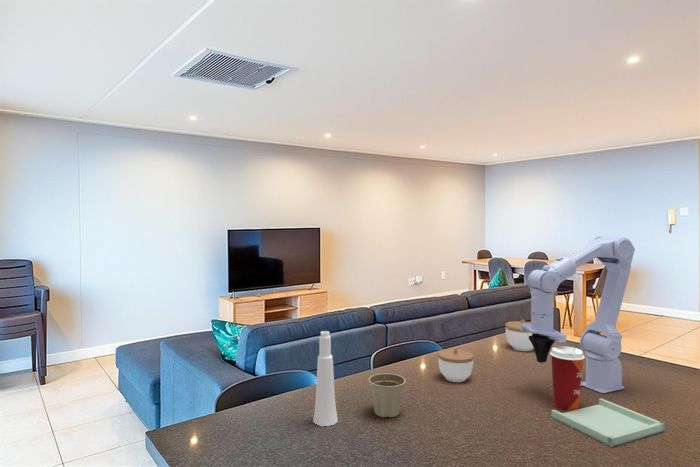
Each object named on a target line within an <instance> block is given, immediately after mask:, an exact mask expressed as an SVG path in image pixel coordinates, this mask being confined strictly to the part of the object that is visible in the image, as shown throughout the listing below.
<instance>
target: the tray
mask: <svg viewBox="0 0 700 467" xmlns="http://www.w3.org/2000/svg"><path fill="white" fill-rule="evenodd" d="M551 418H552V419H554V420H555V421H558V422H560V423H561V424H563V425H565V426H567V427H570V428H572V429H574V430H576V431H578V432H580V433H582V434H584V435H586V436H589V437H590V438H592V439H594V440H596V441H598V442H600V443H602V444H604V445H606V446H609V447H610V448H614V447H617V446H621V445H623V444H624V445H625V444H627V443H630V442H634V441H637V440H640V439H644V438H646V437H650V436H653V435H656V434H660V433H663V432H665V428H666V427H665V423H664V422H661V421H659V420H657V419H654V418H652V417H649V416H646V415H644V414H642V413H639V412H636V411H634V410H631V409H629V408H627V407H624V406H622V405H619V404H616V403H614V402H611V401H609V400H606V399H604V398H599V399H598V404H595V405H591V406H586V407H582V408H579V409H578V410H574V411H565V412H560V411H558V410H556V409H552V410H551Z"/></svg>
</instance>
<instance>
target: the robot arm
mask: <svg viewBox="0 0 700 467" xmlns="http://www.w3.org/2000/svg"><path fill="white" fill-rule="evenodd" d="M635 251H636V249H635V247H634V245H633V243H632V242H631V240H630V239H629V238H628V237H608V236H607V237H606V236H601V235H600V236H596V237H594V238H593V239H590V240H589V241H588V243H587V244H586V245H585V246H583V247H581V248H580V249H579V250H578V251H576V252H575V253H573V254H572V255H570V256H569V257H567V256H558V257H556V258H555V260H554V261H552V262H551V263H549V264H546V265H543V266H542V268H541V269H535V270H533V271H531V272H530V273H529V275H528V276H527V278H528V279H527V278H526V284H527V287H528V289H529V293H530V295H531V296H530V298H531V299H530V303H531V305H530V306H531V307H530V315H531V316H530V322H531V324H526V323H523V324H520V330H521V331H527V332H530V333H532V336H529V340H530V341H531V343H532V345H533V350H534V354H535V357H536V362H538V363H541V364H542V363H547V360H548V358H549V357H548V356H549V354H550V352H551V350H552V348H553V345H554V343H555V342H556V341H557V342H558V343H566V342H567V334H565V333H563V332H560V331H558V330H556V329H554V300H555V299H554V297H555V295H554V292H556V291H557V289H558V288H559V286H560V284H561V283H562V282H564V281H565V280H568V279H569V278H571V277H572V276H573V275H575V274H576V272H577V269H578V268H579V267H581V266H583V265H584V264H586V263H588V262H591V261H592V260H595V259H597V260H598V261H599V262H600V263H601V264H602V265H603V266H605V268H606V270H607V274H606V278H605V282H604V284H603V288H602V292H601V293H602V294H601V296H600V299H599V300H600V301H599V303H598V307H597V311H596V315H595V318H594V321H593V322H590V323H589V324H588V325H586V327H585V330H584V332H583V333H582V334H581V336H580V338H579V344H580V348H581V350H582V351H583V355H585V381H582V382H581V387H585V388H587V389H590V390H592V391H595V392H597V393H600V394H607V393H611V392H615V391H619V390H620V391H621V390H624V389H625V386H623V384H622V383H623V382H622V381H623V378H622V377H623V373H622V372H623V367H622V362H621V360H620V359H619V356H620V355H621V352H622V338H623V336H622V335H621V334H622V333H621V332H619V331H618V329H617V328H616V326H617V323H618V319H619V315H620V312H621V307H622V303H623V300H624V297H625V293H626V290H627V289H626V288H627V284H628V283H629V282H628V281H629V278H630V274H631V270H632V261H633V258H634V254H635Z"/></svg>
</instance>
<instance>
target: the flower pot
mask: <svg viewBox="0 0 700 467" xmlns="http://www.w3.org/2000/svg"><path fill="white" fill-rule="evenodd" d="M368 383H369V384H370V387H371V394H372V400H373V409H374V410H373V411H374V414H375V415H377V416H378V417H380V418H387V417H388V418H395V417H397V416H398V415H399V413H400V407H401V400H402V394H403V389H404V386H405V384H406V379H405V377H403V376H402V375H399V374H395V373H377V374H372V375H371V376H370V377H368Z"/></svg>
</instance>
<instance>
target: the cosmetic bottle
mask: <svg viewBox="0 0 700 467" xmlns="http://www.w3.org/2000/svg"><path fill="white" fill-rule="evenodd" d="M331 338H332V337H331V335H330V331H328V330H322V331H320V335H319V337H318V339H319V342H318V344H319V348H318V349H319V355H317V361H316V362H317V365H316V366H317V367H316V369H317V370H316V388H315V389H316V390H315V391H316V393H315V406H314V412H313V419H312V421H313V424H314V423H315V424H314V425H316V424H317V425H316V426H318V425H319V427H324V426H326V427H332V426H334V425H336V424H337V423H338V422H339V418H338V413H337V406H336V394H335V376H334V375H335V374H334V373H335V372H334V360H333V357H334V356H333V355H332V347H331V346H332V342H331V341H332V340H331ZM331 425H332V426H331Z"/></svg>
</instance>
